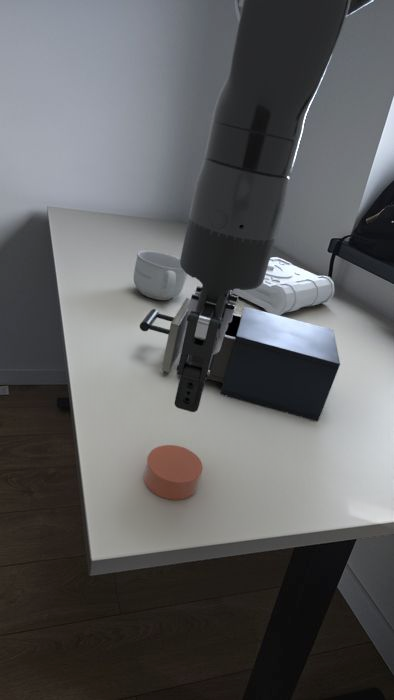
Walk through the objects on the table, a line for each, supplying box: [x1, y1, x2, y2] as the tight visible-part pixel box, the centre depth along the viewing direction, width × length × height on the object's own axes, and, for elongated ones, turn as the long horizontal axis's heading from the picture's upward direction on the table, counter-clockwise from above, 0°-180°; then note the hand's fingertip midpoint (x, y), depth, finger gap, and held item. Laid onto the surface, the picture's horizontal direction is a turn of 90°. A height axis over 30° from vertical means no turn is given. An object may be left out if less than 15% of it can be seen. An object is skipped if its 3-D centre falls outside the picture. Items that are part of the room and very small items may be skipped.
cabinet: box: [220, 306, 341, 422], centre depth 75 cm, size 15×13×10 cm
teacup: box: [133, 250, 188, 301], centre depth 100 cm, size 14×11×8 cm
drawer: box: [139, 297, 242, 384], centre depth 76 cm, size 18×11×8 cm, turn 80°
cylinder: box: [143, 444, 204, 501], centre depth 53 cm, size 6×6×2 cm
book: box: [232, 256, 336, 316], centre depth 118 cm, size 19×28×8 cm
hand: (193, 389), depth 49 cm, fingers open, 6 cm apart
